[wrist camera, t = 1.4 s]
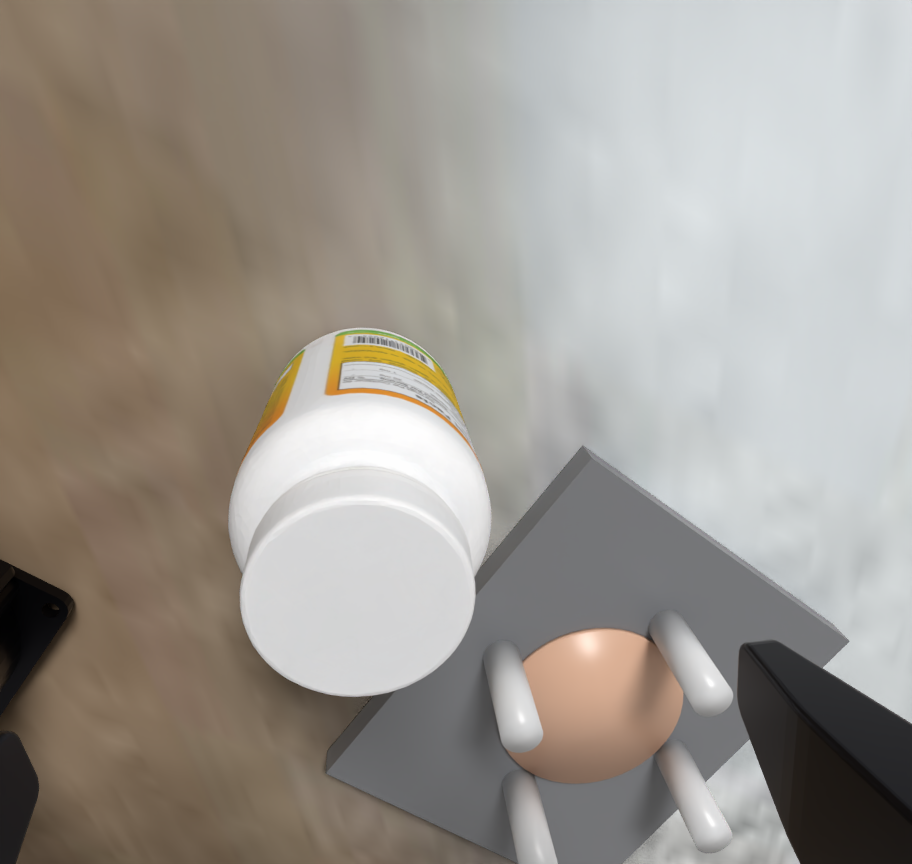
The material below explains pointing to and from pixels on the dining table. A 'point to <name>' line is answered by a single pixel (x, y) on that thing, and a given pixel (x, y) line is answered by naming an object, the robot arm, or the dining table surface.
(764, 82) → the dining table surface
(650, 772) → the pin tray
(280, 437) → the supplement bottle
